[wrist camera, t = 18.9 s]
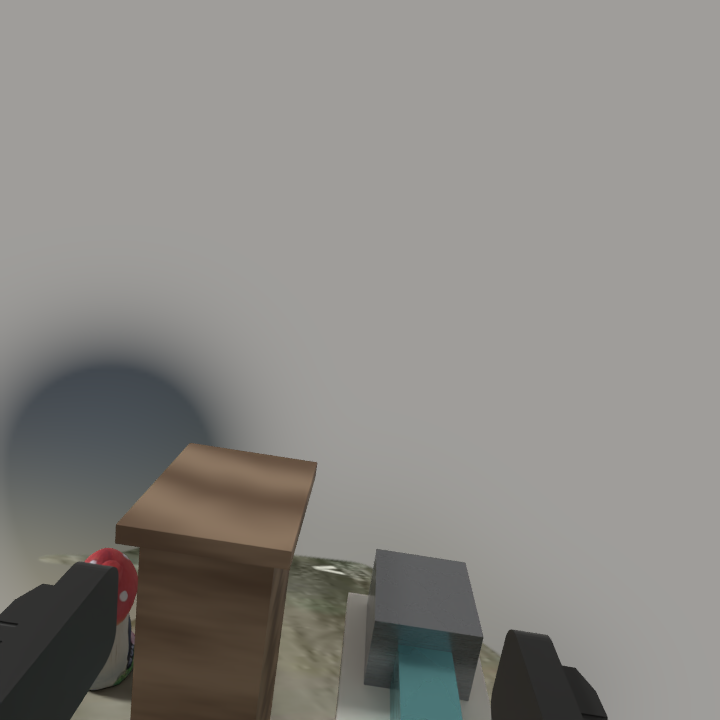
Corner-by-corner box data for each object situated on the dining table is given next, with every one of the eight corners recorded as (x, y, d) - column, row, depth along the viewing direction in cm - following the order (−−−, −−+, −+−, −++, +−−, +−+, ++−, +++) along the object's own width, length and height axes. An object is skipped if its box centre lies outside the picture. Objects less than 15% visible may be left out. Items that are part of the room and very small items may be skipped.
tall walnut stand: (153, 742, 52) (174, 429, 44) (298, 765, 52) (344, 455, 44) (54, 962, 36) (60, 538, 29) (261, 995, 36) (323, 579, 29)
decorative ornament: (124, 703, 55) (130, 575, 52) (53, 705, 54) (55, 574, 50) (142, 635, 64) (149, 522, 61) (82, 635, 63) (85, 520, 59)
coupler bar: (367, 603, 44) (376, 548, 43) (453, 616, 44) (465, 562, 42) (353, 903, 24) (370, 817, 23) (509, 927, 24) (533, 843, 23)
